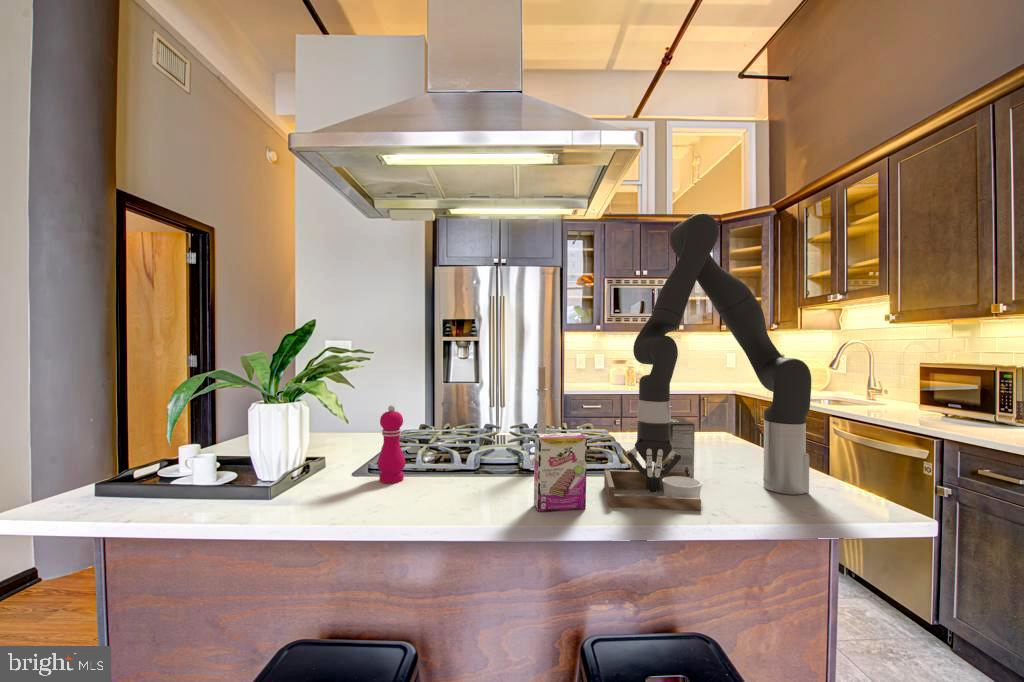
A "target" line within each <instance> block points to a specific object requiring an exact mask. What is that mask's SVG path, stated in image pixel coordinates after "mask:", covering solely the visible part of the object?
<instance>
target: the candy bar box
mask: <svg viewBox="0 0 1024 682" xmlns="http://www.w3.org/2000/svg"><path fill="white" fill-rule="evenodd" d="M587 448H588V437H587V436H586V435H584V434H583V433H581V432H562V433H560V432H559V433H557V432H556V433H554V432H553V433H552V432H551V433H550V432H549V433H547V434H537V433H535V434H534V456H535V461H534V472H533V473H534V476H533V505H534V506H535V508H536V511H538V512H552V511H556V512H557V511H570V510H571V511H572V510H573V511H574V510H586V506H587V505H586V503H587V499H586V498H587V459H588V458H587V455H588V454H587V452H588V449H587Z"/></svg>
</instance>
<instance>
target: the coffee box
mask: <svg viewBox="0 0 1024 682" xmlns="http://www.w3.org/2000/svg"><path fill="white" fill-rule="evenodd" d="M695 427H696V426H695V423H693V422H691V421H690V420H688V419H687V418H685V417H671V420H670V444H671V446H672V450H674V451H675V452H677V453H678V454H679V455H680V456H681V459H680V460H679V461H678V462H677V464H676V465H675V466H674V467H673V468H672V469H671V471H670V472H686V474H687V476H686V477H688V478H693V479H695ZM669 455H670V453H669ZM669 455H668V456H667V457H666V458H665V460H664V461H662V465H661V468H662V467H663V466H664V465H665V463H666V462H667V461H668V460H669V459H670V458H669Z"/></svg>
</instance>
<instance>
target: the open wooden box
mask: <svg viewBox="0 0 1024 682" xmlns="http://www.w3.org/2000/svg"><path fill="white" fill-rule="evenodd" d="M603 471H604V472H603V473H604V475H603V478H604V479H603V480H604V481H603V485H604V486H603V488H604V491H605V496H606V501H607V504H608V507H609V508H610V507H611V508H631V509H632V508H633V509H650V510H651V509H655V510H672V511H673V510H674V511H702V499H701V497H700V498H695V497H671V496H664V495H644V494H643V495H641V494H617V493H615V490H634V491H635V490H636V491H638V490H639V491H649V490H648V489H647V487H646V475H644V474H641V473H640V472H639V471H638V470H635V469H634V470H632V469H631V470H630V469H627V470H626V469H604V470H603ZM670 476H681V477H686V476H687V474H686V472H669V473H668V474H667V475H662V476H660V482H659V491H660V492H661V491H663V492H664V490H663V483H662V479H663V478H665V477H670Z"/></svg>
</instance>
